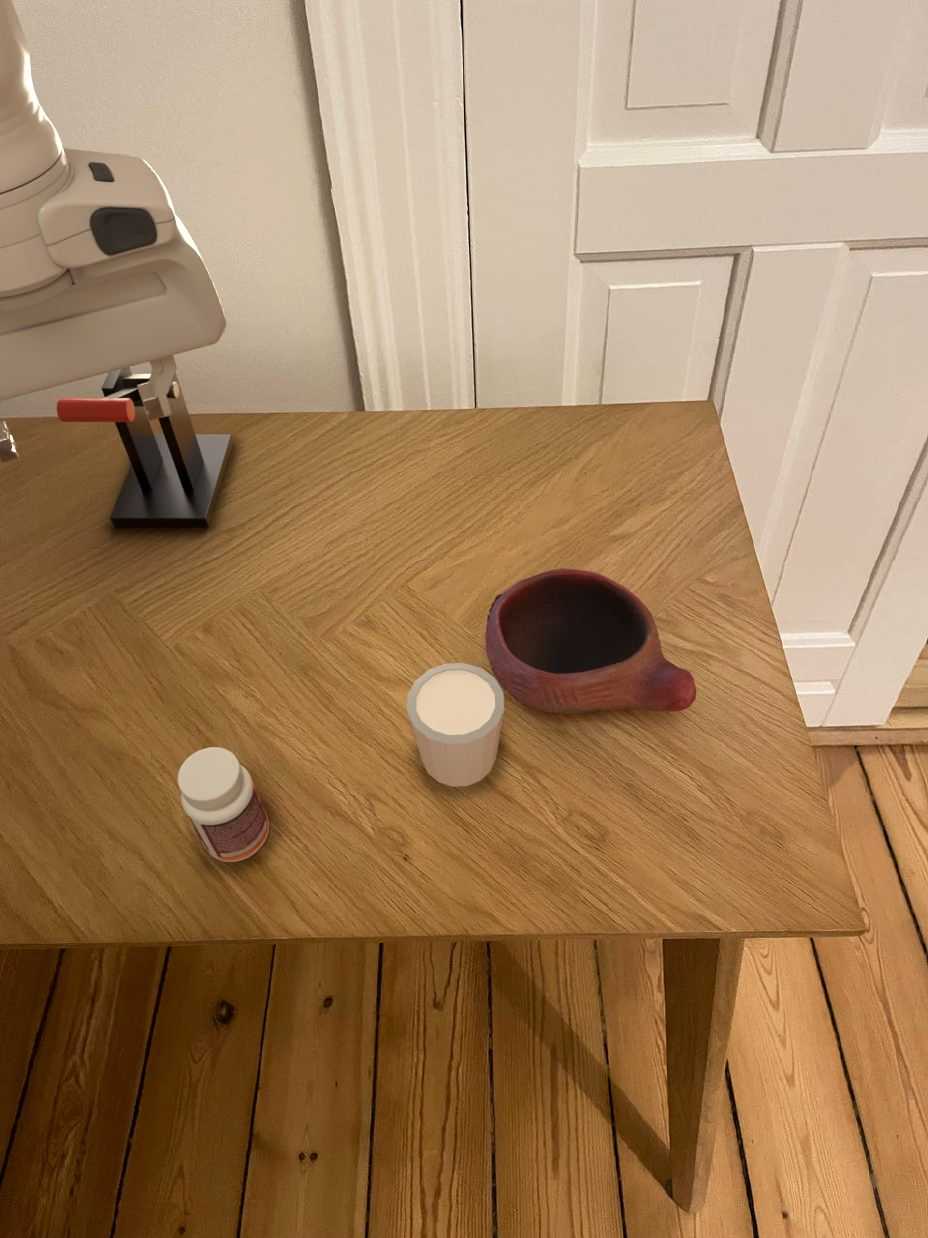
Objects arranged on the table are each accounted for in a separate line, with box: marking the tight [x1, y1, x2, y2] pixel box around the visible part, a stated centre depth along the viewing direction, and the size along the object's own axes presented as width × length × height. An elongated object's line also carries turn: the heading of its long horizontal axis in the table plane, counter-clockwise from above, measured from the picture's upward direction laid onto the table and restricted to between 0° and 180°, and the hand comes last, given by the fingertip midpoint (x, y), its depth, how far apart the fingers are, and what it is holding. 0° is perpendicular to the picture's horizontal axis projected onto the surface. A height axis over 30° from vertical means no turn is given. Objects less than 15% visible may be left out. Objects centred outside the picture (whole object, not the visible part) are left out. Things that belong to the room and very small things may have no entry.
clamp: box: [101, 366, 235, 529], centre depth 86 cm, size 12×9×13 cm
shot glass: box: [406, 662, 505, 788], centre depth 68 cm, size 7×7×7 cm
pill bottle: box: [177, 746, 270, 863], centre depth 64 cm, size 5×5×8 cm
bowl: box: [485, 568, 697, 715], centre depth 72 cm, size 16×13×8 cm
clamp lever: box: [56, 373, 151, 423], centre depth 78 cm, size 12×6×2 cm, turn 178°
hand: (83, 434), depth 58 cm, fingers open, 8 cm apart
